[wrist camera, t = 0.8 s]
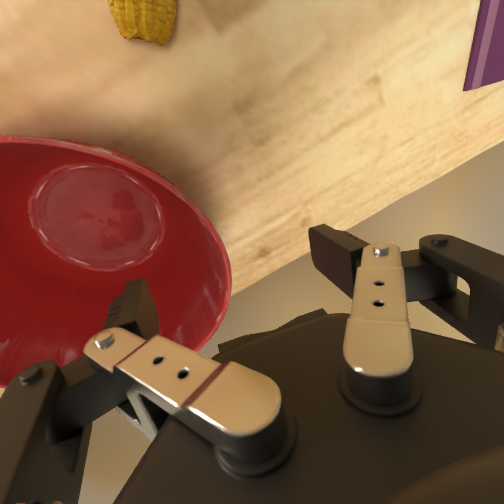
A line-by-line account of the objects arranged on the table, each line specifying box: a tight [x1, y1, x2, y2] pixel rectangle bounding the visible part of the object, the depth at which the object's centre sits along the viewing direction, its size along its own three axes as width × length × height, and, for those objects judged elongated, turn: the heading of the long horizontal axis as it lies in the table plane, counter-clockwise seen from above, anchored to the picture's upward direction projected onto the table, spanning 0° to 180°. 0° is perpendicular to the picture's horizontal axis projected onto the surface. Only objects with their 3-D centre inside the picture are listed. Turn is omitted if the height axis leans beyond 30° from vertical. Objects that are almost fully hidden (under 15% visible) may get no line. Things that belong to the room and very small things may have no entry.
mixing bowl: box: [0, 136, 232, 389], centre depth 32 cm, size 28×28×15 cm
